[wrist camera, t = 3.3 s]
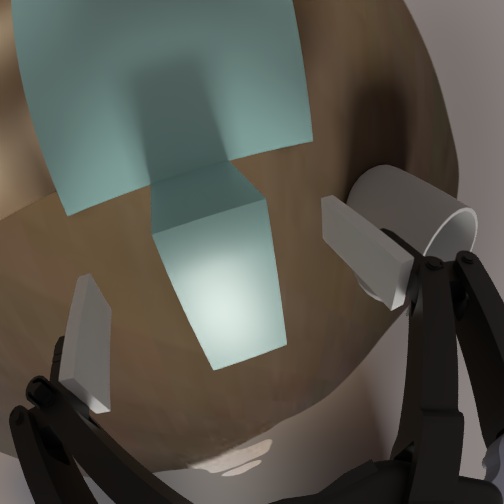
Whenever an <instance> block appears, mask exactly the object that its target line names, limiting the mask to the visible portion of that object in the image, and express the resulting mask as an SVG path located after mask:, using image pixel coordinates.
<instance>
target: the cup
mask: <svg viewBox="0 0 504 504" xmlns="http://www.w3.org/2000/svg"><path fill="white" fill-rule="evenodd" d="M346 205H347V206H349V207H350V208H352V209H353V210H354V211H356V212H357V213H358V214H360V215H361V216H362V217H364V218H365V219H366V220H368V221H369V222H370V223H372V224H373V225H374V226H376V227H377V228H378V229H382V228H385V229H388V230H390V231H393V232H394V233H395V234H397V235H398V236H399V237H400V238H402V239H403V240H405V242H407V243H408V244H410V245H411V246H412V247H413V248H415V249H416V250H417V251H418V252H420V253H421V254H422V255H423V256H424V257H426V256H434V257H438V258H439V259H441V260H442V261H443V262H447V261H453V260H455V258H456V254H457V253H458V252H459V251H462V250H465V251H469V252H471V250H472V248H473V245H474V242H475V239H476V234H477V225H478V220H477V216H476V213H475V212H474V211H473V209H471V208H470V207H468V206H467V205H465V204H463V203H462V202H460V201H458V200H457V199H455V198H453V197H452V196H450V195H448V194H446V193H445V192H443V191H441V190H439V189H438V188H436V187H434V186H432V185H430V184H428V183H427V182H425V181H423V180H421V179H419V178H417V177H415V176H413V175H411V174H409V173H407V172H405V171H403V170H401V169H399V168H396V167H394V166H390V165H378V166H376V167H374V168H371V169H369V170H367V171H366V172H365V173H364V174H362V175H361V176H360V177H359V178H358V180H357V181H356V182H355V183H354V185H353V187H352V189H351V191H350V193H349V196H348V199H347V202H346ZM353 273H354V275H355V277H356V279H357V281H358V283H359V284H360V286H361V287H362V288H363V289H364V290H365V292H366V293H367V294H369V295H370V296H372V297H373V298H375V299H376V300H379V301H382V300H381V299H380V298H379V297H378V296H377V295H376V294H375V293H374V292H373V291H372V289H371V288H370V287H369V286H368V285H367V284H366V283H365V282H364V281H363V280H362V279H361V278H360V277H359V276H358V275H357V274H356V273H355V271H354V270H353Z"/></svg>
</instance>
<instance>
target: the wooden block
mask: <svg viewBox="0 0 504 504" xmlns="http://www.w3.org/2000/svg"><path fill="white" fill-rule="evenodd" d="M56 191H57V190H56V188H55V186H54V183H53V181H52V178H51V175H50V173H49V170H48V168H47V165H46V162H45V159H44V157H43V154H42V151H41V148H40V145H39V142H38V139H37V136H36V132H35V129H34V126H33V123H32V119H31V116H30V112H29V108H28V104H27V101H26V97H25V92H24V88H23V84H22V79H21V74H20V69H19V64H18V58H17V52H16V46H15V39H14V30H13V21H12V8H11V0H0V220H2V219H3V218H5V217H7V216H9V215H10V214H12V213H14V212H16V211H18V210H20V209H22V208H23V207H25V206H27V205H29V204H31V203H33V202H35V201H37V200H39V199H41V198H43V197H45V196H47V195H49V194H51V193H54V192H56Z"/></svg>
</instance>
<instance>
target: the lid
mask: <svg viewBox="0 0 504 504" xmlns="http://www.w3.org/2000/svg"><path fill="white" fill-rule="evenodd" d="M11 8H12V21H13V30H14V39H15V46H16V52H17V58H18V64H19V69H20V74H21V79H22V84H23V88H24V92H25V97H26V101H27V104H28V108H29V112H30V116H31V119H32V123H33V126H34V129H35V132H36V136H37V139H38V142H39V145H40V148H41V151H42V154H43V157H44V159H45V162H46V165H47V168H48V170H49V173H50V175H51V178H52V181H53V183H54V186H55V188H56V190H57V193H58V195H59V198H60V200H61V202H62V205H63V207H64V209H65V211H66V214H67V216H70V215H72V214H74V213H77V212H79V211H81V210H84V209H86V208H89V207H91V206H94V205H96V204H99V203H101V202H104V201H106V200H109V199H112V198H114V197H117V196H120V195H122V194H125V193H128V192H131V191H133V190H136V189H139V188H142V187H145V186H148V185H151V229H152V237H153V239H154V242H155V244H156V247H157V249H158V252H159V254H160V257H161V259H162V261H163V264H164V266H165V268H166V271H167V273H168V275H169V278H170V280H171V282H172V285H173V287H174V289H175V291H176V294H177V296H178V298H179V300H180V302H181V305H182V307H183V309H184V311H185V313H186V315H187V318H188V320H189V322H190V324H191V326H192V328H193V330H194V332H195V334H196V336H197V338H198V340H199V342H200V344H201V346H202V348H203V350H204V352H205V354H206V356H207V358H208V360H209V362H210V364H211V366H212V368H213V370H217V369H220V368H223V367H226V366H229V365H232V364H235V363H238V362H241V361H244V360H246V359H249V358H252V357H255V356H258V355H260V354H263V353H266V352H268V351H271V350H274V349H276V348H279V347H282V346H284V345H287V341H286V333H285V326H284V318H283V311H282V303H281V296H280V289H279V282H278V275H277V268H276V261H275V254H274V248H273V241H272V234H271V228H270V221H269V215H268V208H267V202H266V198H265V197H264V196H263V195H262V194H261V193H260V192H259V191H258V190H257V189H256V188H255V187H254V186H253V185H252V184H251V183H250V182H249V181H248V180H247V179H246V178H245V177H244V176H243V175H242V174H241V173H240V172H239V171H238V170H237V169H236V168H235V167H234V166H233V165H232V164H231V163H230V162H229V160H233V159H237V158H241V157H245V156H249V155H253V154H257V153H261V152H265V151H269V150H274V149H278V148H283V147H287V146H292V145H296V144H301V143H306V142H311V141H313V135H312V126H311V117H310V108H309V100H308V92H307V84H306V77H305V70H304V64H303V57H302V51H301V45H300V39H299V33H298V27H297V22H296V16H295V11H294V6H293V1H292V0H11Z"/></svg>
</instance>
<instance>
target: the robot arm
mask: <svg viewBox="0 0 504 504" xmlns="http://www.w3.org/2000/svg"><path fill="white" fill-rule="evenodd" d="M321 206H322V229H323V240H324V241H325V242H326V243H327V244H328V245H329V246H330V247H331V248H332V249H333V250H334V251H335V252H336V253H337V254H338V255H339V256H340V257H341V258H342V259H343V260H344V261H345V262H346V263H347V264H348V265H349V266H350V267H351V268H352V269H353V270H354V271H355V273H356V274H357V275H358V276H359V277H360V278H361V279H362V280H363V281H364V282H365V283H366V284H367V285H368V286H369V287H370V288H371V289H372V291H373V292H374V293H375V294H376V295H377V296H378V297H379V298H380V299H381V300H382V301H383V302H384V303H385V305H386V306H387V307H388V308H389V309H390V310H391V311H392V310H393V309H395V308H397V307H399V306H401V305H403V303H404V299H405V295H406V296H407V297H408V298H409V299H410V303H409V306H408V310H407V313H406V316H408V314H409V334H408V354H407V355H408V356H407V368H406V379H405V388H404V396H403V404H402V411H401V418H400V424H399V430H398V435H397V438H396V441H395V443H394V445H393V448H392V451H391V456H390V460H383V461H377V462H373V461H372V460H369V461H367V462H366V463H364V464H362V465H360V466H358V467H356V468H354V469H352V470H350V471H348V472H347V473H344V474H343V475H342V476H341V477H339V478H338V479H337V480H335V481H334V482H333V483H332V484H330V485H329V486H328V487H326V488H325V489H323V490H322V491H321V492H319V493H317V494H314V495H307V496H301V497H294V498H286V499H282V500H279V501H276V502H272V503H269V504H503V502H504V302H503V300H502V299H501V297H500V295H499V293H498V291H497V289H496V287H495V285H494V284H493V282H492V280H491V278H490V277H489V275H488V273H487V271H486V270H485V268H484V266H483V265H482V263H481V262H480V260H479V258H478V257H477V256H476V255H475V254H473V253H472V252H469V251H465V250H462V251H459V252H458V253H457V254H456V258H455V260H453V261H447V262H443V261H442V260H441V259H439V258H438V257H434V256H426V257H424V256H423V255H422V254H421V253H420V252H418V251H417V250H416V249H415V248H413V247H412V246H411V245H410V244H408V243H407V242H405V240H403V239H402V238H400V237H399V236H398V235H397V234H395V233H394V232H393V231H390V230H388V229H385V228H382V229H378V228H377V227H376V226H374V225H373V224H372V223H370V222H369V221H368V220H366V219H365V218H364V217H362V216H361V215H360V214H358V213H357V212H356V211H354V210H353V209H352V208H350V207H349V206H347V205H346V204H345V203H343V202H342V201H340V200H339V199H338V198H336V197H335V196H333V195H331V196H327V197H324V198H321ZM111 313H112V309H111V308H110V306H109V304H108V303H107V301H106V300H105V298H104V296H103V295H102V293H101V291H100V290H99V288H98V286H97V285H96V283H95V281H94V279H93V278H92V276H91V274H90V273H88V274H85V275H82V276H80V277H78V280H77V283H76V287H75V291H74V295H73V300H72V304H71V308H70V313H69V318H68V323H67V328H66V333H65V336H62V337H60V338H59V339H58V341H57V343H56V345H55V349H54V357H53V361H52V362H53V364H52V367H51V374H50V381H48V380H47V379H46V378H45V377H44V376H36V377H34V378H33V379H32V380H31V381H30V382H29V384H28V386H27V388H26V398H27V400H28V401H30V402H31V403H32V404H33V405H35V407H33V408H31V409H30V410H27V409H26V408H25V407H23V406H20V405H19V406H17V407H15V408H14V409H13V410H12V412H11V414H10V417H9V425H10V429H11V433H12V437H13V441H14V445H15V448H16V452H17V455H18V458H19V461H20V464H21V467H22V470H23V473H24V476H25V479H26V482H27V484H28V487H29V489H30V492H31V494H32V497H33V499H34V501H35V504H98V502H97V501H96V499H95V498H94V496H93V494H92V492H91V491H90V489H89V487H88V485H87V484H86V482H85V480H84V478H83V476H82V474H81V473H80V471H79V469H78V467H77V465H76V463H75V461H74V459H73V457H74V458H75V460H76V461H77V462H78V463H79V464H80V466H81V467H82V468H83V469H84V470H85V472H86V473H87V474H88V475H89V476H90V477H91V478H92V479H93V481H94V482H95V483H96V484H97V485H98V486H99V487H100V488H101V489H102V490H103V491H104V492H105V493H106V494H107V495H108V496H109V497H110V498H111V499H112V500H113V501H114V502H115V503H116V504H193V503H192V502H190V501H189V500H187V499H186V498H184V497H183V496H182V495H180V494H179V493H177V492H176V491H174V490H173V489H172V488H170V487H169V486H168V485H166V484H165V483H164V482H162V481H161V480H160V479H159V478H157V477H156V476H155V475H153V474H152V473H151V472H150V471H149V470H147V469H146V468H145V467H144V466H143V465H141V464H140V463H139V462H138V461H137V460H136V459H134V458H133V457H132V456H131V455H130V454H129V453H128V452H127V451H125V450H124V449H123V448H122V447H121V446H120V445H119V444H118V443H117V442H116V441H115V440H114V439H113V438H112V437H111V436H110V435H109V434H108V433H107V432H106V431H105V430H104V429H103V428H102V427H101V426H100V425H99V424H98V423H97V422H96V421H95V420H94V419H93V418H92V417H91V416H90V415H89V408H90V409H91V410H93V411H94V412H95V413H96V414H97V413H103V412H108V411H110V375H109V366H110V330H111ZM456 335H457V338H458V341H459V344H460V347H461V350H462V353H463V357H464V360H465V364H466V367H467V370H468V374H469V378H470V382H471V386H472V390H473V394H474V398H475V402H476V407H477V412H478V417H479V422H480V427H481V431H482V435H483V439H484V442H485V445H486V448H487V452H486V455H485V457H484V458H483V461H482V466H483V468H485V469H486V476H485V479H484V480H479V479H474V478H468V477H464V476H459V470H460V463H461V455H462V446H463V435H464V416H463V413H461V412H459V410H458V357H457V341H456ZM72 456H73V457H72Z"/></svg>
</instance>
